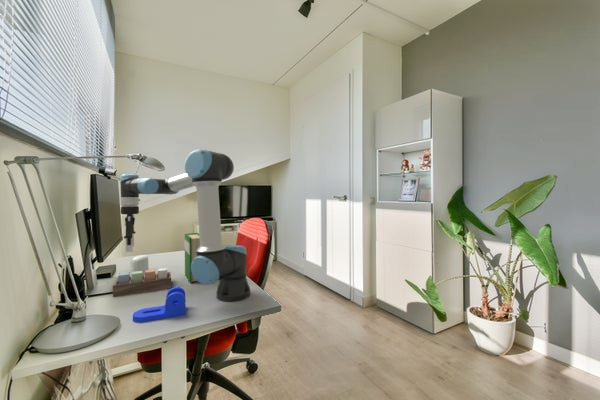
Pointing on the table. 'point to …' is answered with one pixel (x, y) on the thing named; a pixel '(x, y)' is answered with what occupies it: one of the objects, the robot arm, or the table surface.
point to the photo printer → (139, 264)
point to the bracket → (164, 307)
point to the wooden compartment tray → (141, 285)
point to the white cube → (162, 273)
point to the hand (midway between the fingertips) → (130, 249)
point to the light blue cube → (123, 278)
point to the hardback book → (191, 253)
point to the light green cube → (137, 276)
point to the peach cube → (149, 275)
